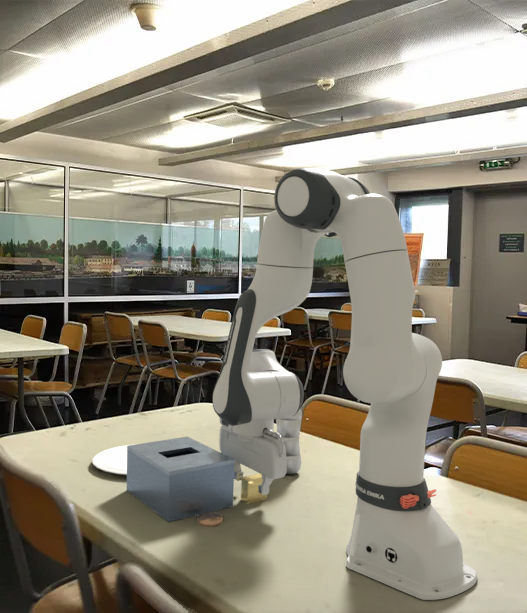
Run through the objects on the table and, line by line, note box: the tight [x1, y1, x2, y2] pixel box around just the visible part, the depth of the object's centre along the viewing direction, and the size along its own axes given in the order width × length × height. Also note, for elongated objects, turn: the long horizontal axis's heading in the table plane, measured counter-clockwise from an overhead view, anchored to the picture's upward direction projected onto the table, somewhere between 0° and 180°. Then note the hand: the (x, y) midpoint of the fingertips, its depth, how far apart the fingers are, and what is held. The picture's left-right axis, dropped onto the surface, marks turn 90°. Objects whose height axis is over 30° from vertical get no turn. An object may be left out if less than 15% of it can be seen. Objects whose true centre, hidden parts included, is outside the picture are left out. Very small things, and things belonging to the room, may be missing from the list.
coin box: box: [126, 436, 235, 523], centre depth 133 cm, size 20×15×10 cm
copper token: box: [196, 511, 224, 528], centre depth 122 cm, size 5×5×1 cm
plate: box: [91, 443, 137, 477], centre depth 155 cm, size 25×25×2 cm
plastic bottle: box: [275, 408, 303, 475], centre depth 151 cm, size 6×7×20 cm
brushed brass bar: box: [240, 473, 268, 504], centre depth 134 cm, size 2×5×5 cm, turn 126°
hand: (250, 486), depth 134 cm, fingers open, 8 cm apart
